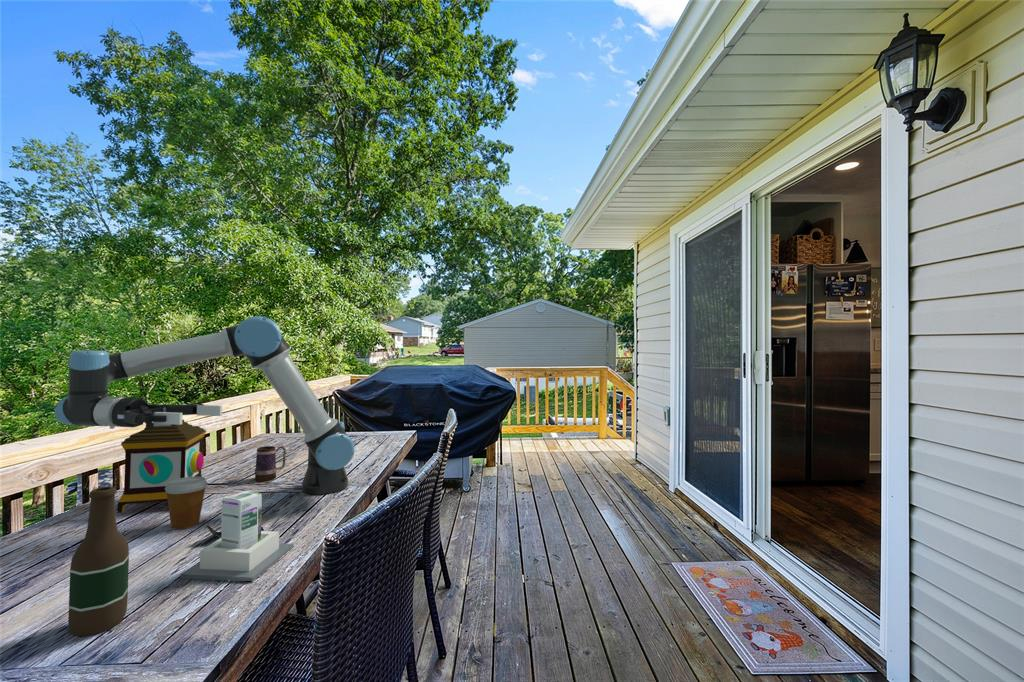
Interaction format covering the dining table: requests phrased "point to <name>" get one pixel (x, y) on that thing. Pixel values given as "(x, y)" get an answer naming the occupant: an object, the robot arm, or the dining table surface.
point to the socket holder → (238, 560)
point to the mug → (267, 463)
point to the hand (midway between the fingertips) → (202, 414)
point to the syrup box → (241, 520)
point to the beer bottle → (99, 570)
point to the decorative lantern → (159, 461)
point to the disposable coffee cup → (185, 501)
